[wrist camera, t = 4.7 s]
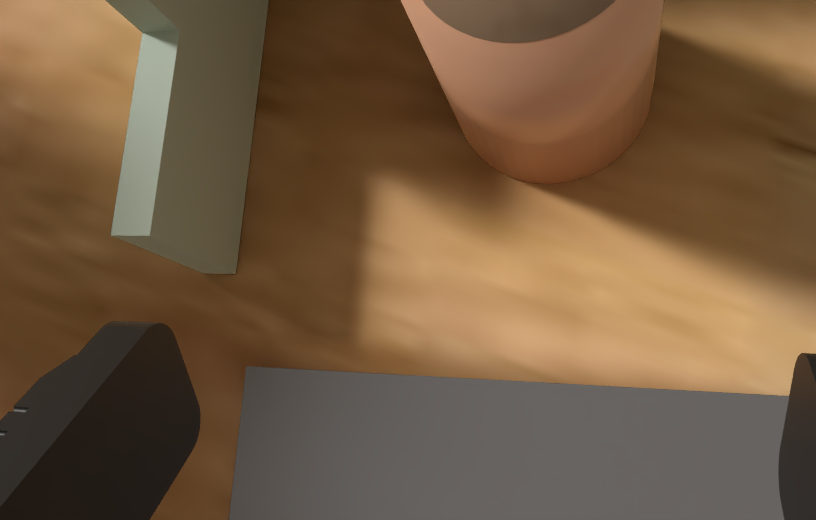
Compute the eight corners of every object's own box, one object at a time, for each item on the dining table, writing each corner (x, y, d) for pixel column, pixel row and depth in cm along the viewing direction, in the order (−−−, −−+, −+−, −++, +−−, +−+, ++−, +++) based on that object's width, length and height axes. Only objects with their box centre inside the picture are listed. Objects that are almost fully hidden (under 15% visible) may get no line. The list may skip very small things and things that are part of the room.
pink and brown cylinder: (451, 184, 24) (378, 66, 16) (461, 10, 25) (398, -174, 18) (652, 182, 22) (674, 51, 15) (652, -3, 24) (673, -211, 16)
